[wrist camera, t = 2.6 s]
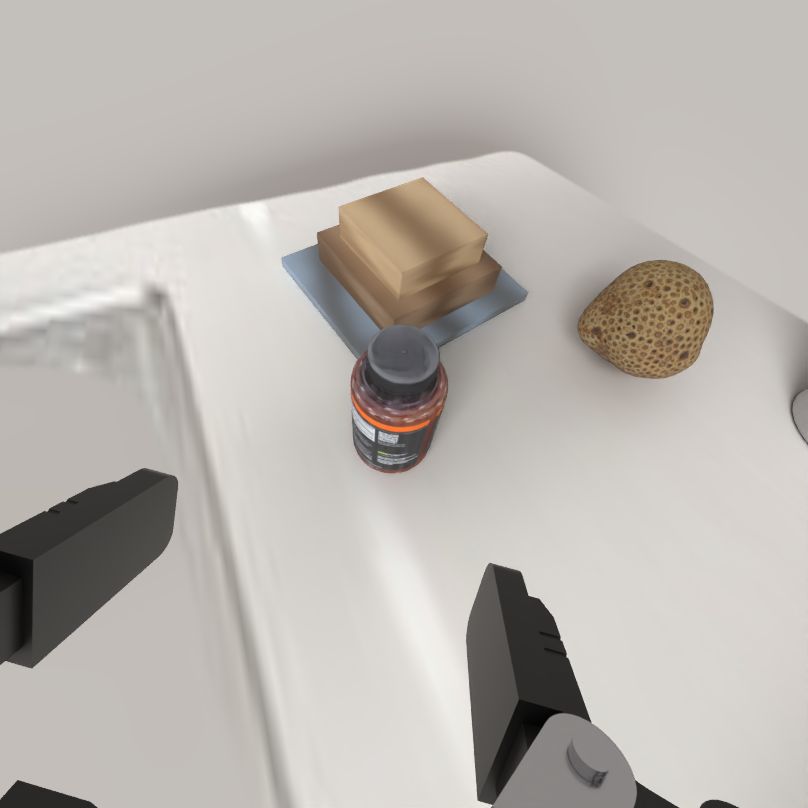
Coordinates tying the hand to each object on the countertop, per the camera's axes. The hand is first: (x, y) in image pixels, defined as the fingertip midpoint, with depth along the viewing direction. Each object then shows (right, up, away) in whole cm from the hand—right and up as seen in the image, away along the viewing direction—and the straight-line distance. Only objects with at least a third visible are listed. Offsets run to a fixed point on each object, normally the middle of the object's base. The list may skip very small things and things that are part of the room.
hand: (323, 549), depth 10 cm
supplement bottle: (+1, +1, +22) cm, 22 cm away
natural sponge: (+22, +8, +28) cm, 36 cm away
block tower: (+2, +16, +30) cm, 34 cm away
